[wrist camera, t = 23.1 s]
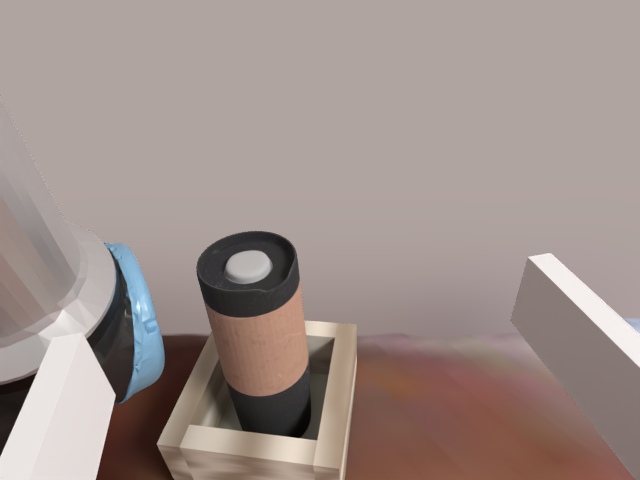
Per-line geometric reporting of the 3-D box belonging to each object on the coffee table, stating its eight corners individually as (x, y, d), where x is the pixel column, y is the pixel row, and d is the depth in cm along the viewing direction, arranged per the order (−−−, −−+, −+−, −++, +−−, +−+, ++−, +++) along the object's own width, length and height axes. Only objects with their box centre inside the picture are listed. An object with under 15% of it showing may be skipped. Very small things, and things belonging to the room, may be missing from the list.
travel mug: (246, 383, 46) (209, 230, 35) (316, 384, 46) (302, 228, 34) (230, 452, 40) (179, 293, 29) (311, 454, 39) (292, 292, 28)
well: (177, 486, 39) (156, 444, 35) (231, 356, 51) (220, 313, 47) (341, 510, 36) (339, 468, 32) (356, 368, 48) (356, 324, 44)
